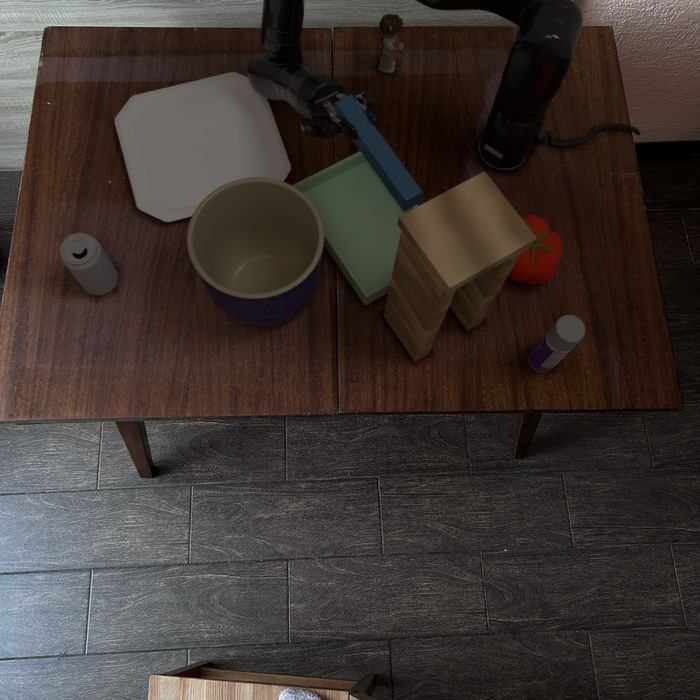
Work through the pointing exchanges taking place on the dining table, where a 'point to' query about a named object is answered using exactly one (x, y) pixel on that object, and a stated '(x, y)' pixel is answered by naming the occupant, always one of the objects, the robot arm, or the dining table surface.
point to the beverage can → (89, 263)
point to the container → (556, 343)
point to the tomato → (538, 254)
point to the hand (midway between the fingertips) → (365, 129)
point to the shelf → (452, 260)
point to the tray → (357, 223)
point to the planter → (257, 249)
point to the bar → (380, 154)
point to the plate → (197, 142)
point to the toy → (389, 40)
